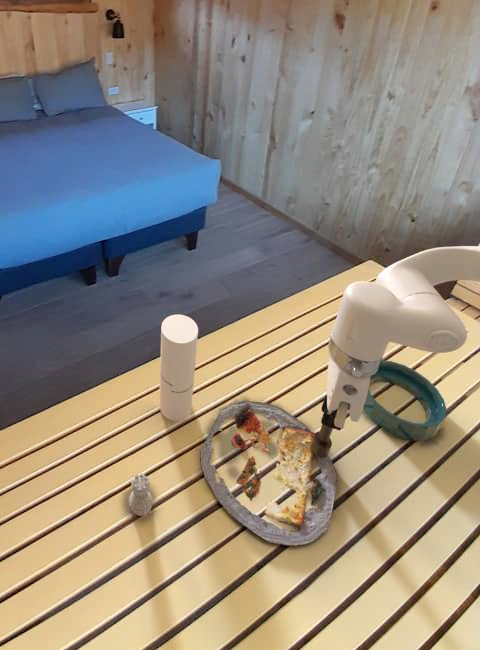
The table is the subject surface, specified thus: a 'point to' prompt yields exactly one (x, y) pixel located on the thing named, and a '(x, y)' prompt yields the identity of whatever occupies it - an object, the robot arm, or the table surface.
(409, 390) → the ring
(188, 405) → the cylindrical container
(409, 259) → the robot arm
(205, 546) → the table surface
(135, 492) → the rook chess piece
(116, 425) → the table surface
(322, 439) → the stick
